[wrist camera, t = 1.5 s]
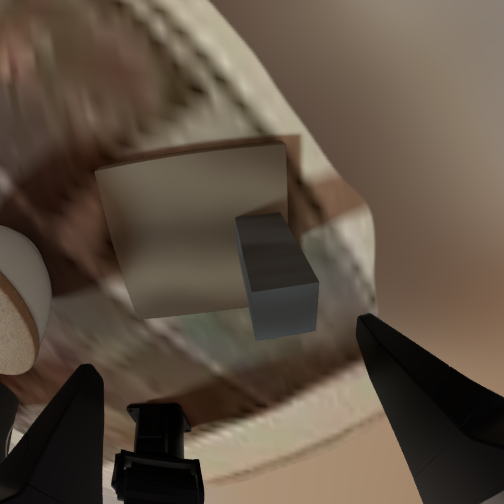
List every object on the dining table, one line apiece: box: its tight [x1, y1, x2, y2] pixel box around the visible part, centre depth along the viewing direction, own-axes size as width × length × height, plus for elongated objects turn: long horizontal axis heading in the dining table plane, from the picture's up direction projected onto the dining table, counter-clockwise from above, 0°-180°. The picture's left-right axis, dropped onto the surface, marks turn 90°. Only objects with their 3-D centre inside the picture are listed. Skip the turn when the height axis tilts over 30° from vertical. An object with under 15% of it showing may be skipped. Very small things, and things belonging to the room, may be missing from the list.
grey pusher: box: [94, 141, 319, 341], centre depth 18 cm, size 12×12×10 cm
